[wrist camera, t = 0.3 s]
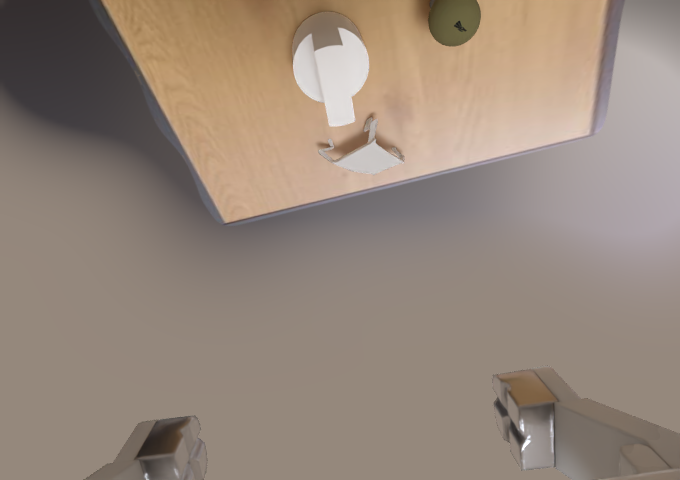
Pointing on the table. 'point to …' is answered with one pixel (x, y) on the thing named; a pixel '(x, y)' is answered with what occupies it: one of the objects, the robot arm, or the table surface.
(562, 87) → the table surface
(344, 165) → the white flat-topped legged piece
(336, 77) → the base with upright slab
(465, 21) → the olive green rounded piece
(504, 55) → the table surface
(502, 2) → the table surface
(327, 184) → the table surface
